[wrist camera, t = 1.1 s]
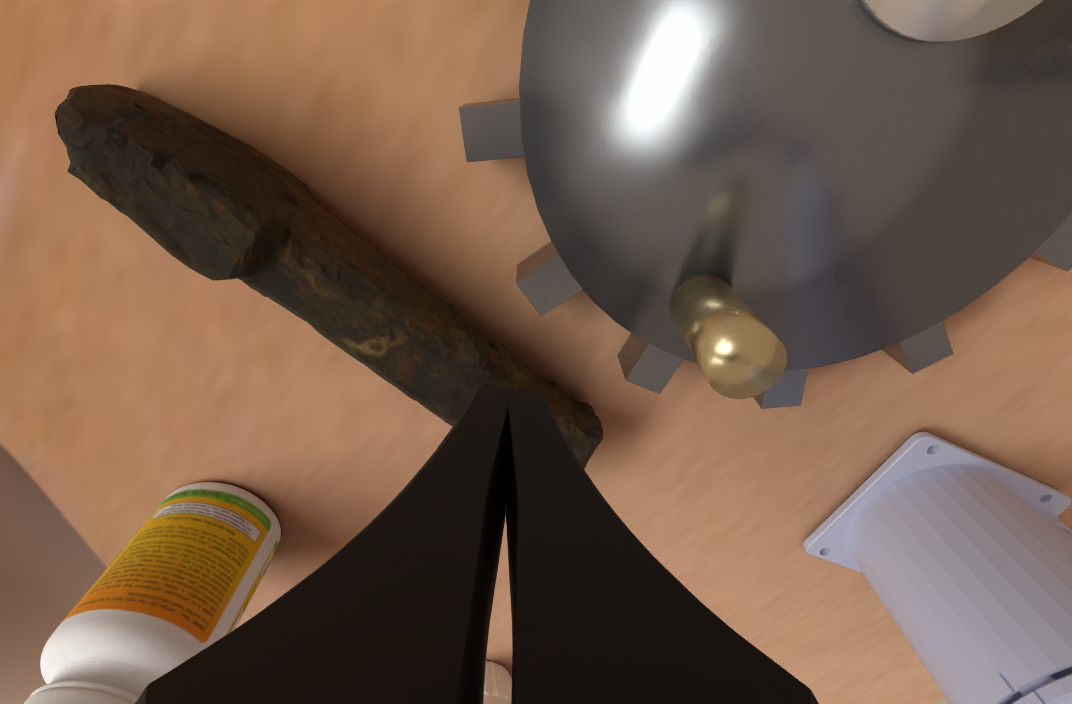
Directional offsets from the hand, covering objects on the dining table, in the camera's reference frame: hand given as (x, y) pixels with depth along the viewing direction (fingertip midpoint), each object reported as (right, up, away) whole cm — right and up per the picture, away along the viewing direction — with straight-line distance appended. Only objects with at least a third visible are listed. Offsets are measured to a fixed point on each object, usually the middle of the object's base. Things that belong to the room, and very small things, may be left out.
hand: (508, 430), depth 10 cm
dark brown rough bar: (-5, +4, +9) cm, 11 cm away
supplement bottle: (-14, -6, +14) cm, 21 cm away
